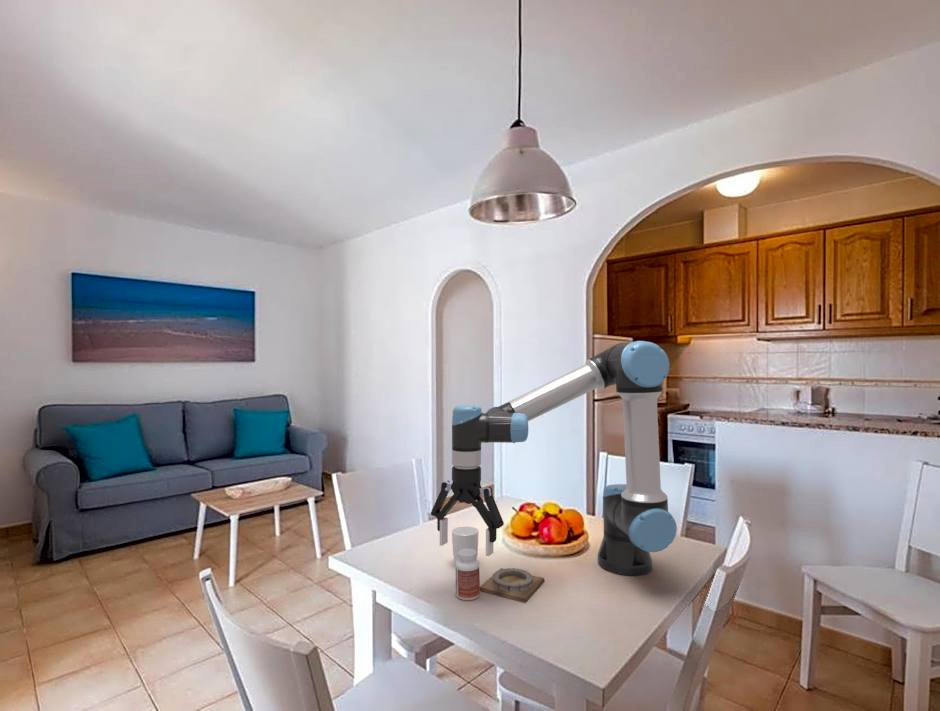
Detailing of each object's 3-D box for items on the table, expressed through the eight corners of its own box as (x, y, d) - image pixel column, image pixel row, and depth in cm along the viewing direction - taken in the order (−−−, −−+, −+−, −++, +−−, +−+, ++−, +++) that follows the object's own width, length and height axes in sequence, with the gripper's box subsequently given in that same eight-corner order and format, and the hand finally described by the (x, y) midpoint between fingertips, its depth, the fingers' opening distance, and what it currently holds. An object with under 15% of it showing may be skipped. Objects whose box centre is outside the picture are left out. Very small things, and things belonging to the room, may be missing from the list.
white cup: (459, 557, 149) (459, 524, 149) (483, 561, 145) (482, 528, 145) (447, 567, 142) (447, 532, 142) (471, 572, 138) (471, 536, 138)
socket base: (544, 581, 132) (544, 572, 132) (525, 602, 121) (525, 592, 121) (501, 571, 138) (501, 562, 138) (479, 590, 127) (479, 581, 127)
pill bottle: (484, 596, 124) (484, 552, 124) (464, 603, 120) (464, 558, 121) (470, 587, 129) (470, 545, 129) (451, 594, 126) (450, 550, 126)
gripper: (517, 468, 122) (516, 553, 122) (434, 458, 134) (433, 535, 134) (504, 474, 116) (503, 564, 115) (418, 463, 128) (417, 544, 128)
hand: (465, 549), depth 125 cm, fingers open, 13 cm apart
